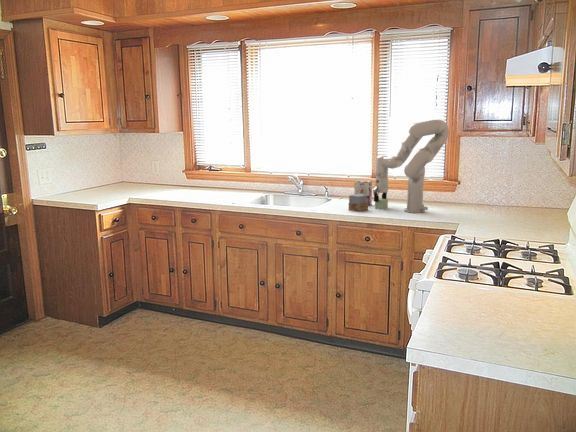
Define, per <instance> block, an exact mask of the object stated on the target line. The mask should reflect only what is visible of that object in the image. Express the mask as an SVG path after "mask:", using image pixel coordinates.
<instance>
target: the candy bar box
mask: <svg viewBox="0 0 576 432" xmlns="http://www.w3.org/2000/svg"><path fill="white" fill-rule="evenodd" d="M354 194H361V195H367V203H368V207H369V206H371V205H372V203H373V202H372V201H373V198H372V197H373V195H372V194H373V181H372V180H355V181H354Z"/></svg>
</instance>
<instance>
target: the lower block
mask: <svg viewBox="0 0 576 432" xmlns="http://www.w3.org/2000/svg"><path fill="white" fill-rule="evenodd" d="M368 210H369V206H368V203H363V204H353V203H349V202H348V211H351V212H356V213H357V212H359V213H362V212H365V211H368Z"/></svg>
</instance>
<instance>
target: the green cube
mask: <svg viewBox="0 0 576 432" xmlns="http://www.w3.org/2000/svg"><path fill="white" fill-rule="evenodd" d="M388 201H389V199H387V198H386V199H382V198H379V201H378V202H375V201H374V209H378V210H386V209H388V206H389V202H388Z"/></svg>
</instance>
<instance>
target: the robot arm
mask: <svg viewBox="0 0 576 432" xmlns="http://www.w3.org/2000/svg"><path fill="white" fill-rule="evenodd" d="M431 135H433V136H432V137H431V138H430V139H429V140H428V142H427V143H426V144H425V145H424V147H421V148H420V149H418V150H416V151H415V152H414V154H413V155H412V156H411V158H410V160H409V161H408V162H407V163H406V161H407V159H408V158H409V157H410V155H411V154H412V152H413V150H414V148H415V147H416V146H417V144H418V143H419V142H420V141H421V139H423V137H425V136H431ZM449 135H450V129H449V126H448V124H447V123H446V122H445V121H444V120H442V119H431V120H426V121H421V122H415V123H412V124H411V125H409V127H408V133H406V136H404V138H403V139H402V141H401V147H400V149H399V151H398V152H397V153H396V154H395V155H394V156H387V155H378V156H377V157H376V169H375V181H374V188H372V194H373V195H374V196H373V202H374V203H375V202H378V201H379V199H380V195H379V194H381V199H387V198H388V197H387V196H388V192H389V191H388V190H389V177H388V176H389V169H392V170H393V169H394V170H395V169H398V168H400V167H402V166H403V165H404V163H406V164H405V166H404V169H403V172H404V175H405V177H406V178H408V179H407V180H408V181H407V197H406V198H407V200H406V201H407V202H406V208H404V212H406V213H410V214H411V213H413V214H415V213H416V214H418V213H419V214H420V213H425V212H426V211H428V210H429V207H428V206H425V204H423V203H424V183H425V175H426V167H425V166H426V165H427V164H429V163H430V162H433V160H434V158H435V157H436V156H437V154H439V152H440V151H441V149H442V147H444V145H445V144H446V142H447V140H448V138H449Z"/></svg>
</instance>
